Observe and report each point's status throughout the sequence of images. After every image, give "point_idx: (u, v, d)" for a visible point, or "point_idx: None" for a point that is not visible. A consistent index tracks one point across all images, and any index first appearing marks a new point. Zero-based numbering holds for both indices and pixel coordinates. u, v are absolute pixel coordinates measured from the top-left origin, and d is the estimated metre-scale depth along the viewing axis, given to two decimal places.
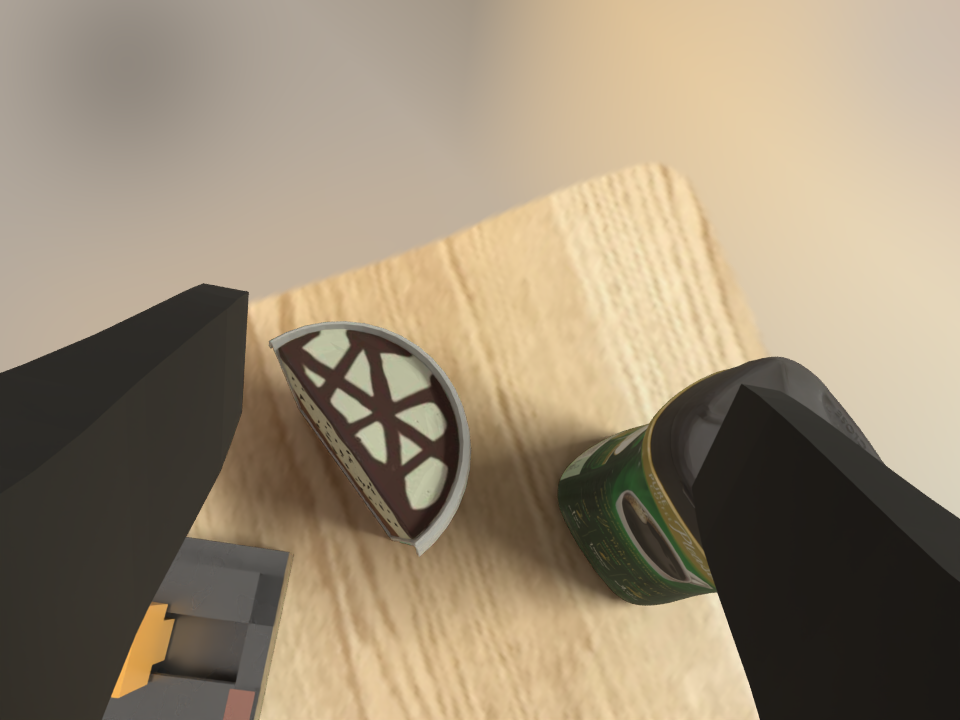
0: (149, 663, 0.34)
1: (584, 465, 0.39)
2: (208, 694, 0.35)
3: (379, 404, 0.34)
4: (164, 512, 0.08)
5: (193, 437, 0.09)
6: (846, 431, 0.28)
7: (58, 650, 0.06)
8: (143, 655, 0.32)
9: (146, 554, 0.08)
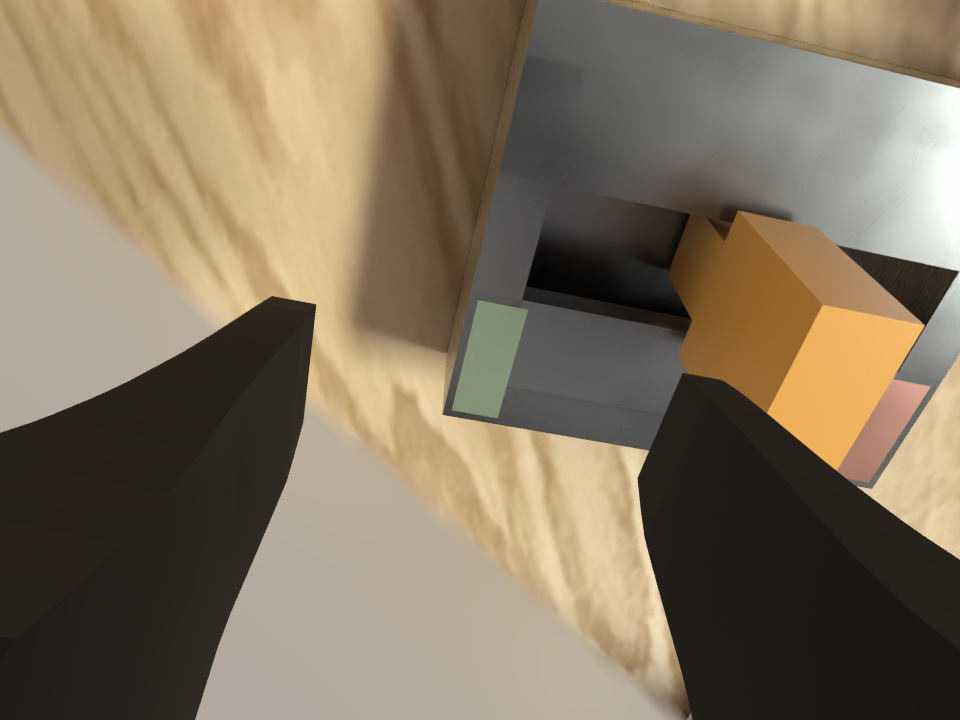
0: None
1: None
2: None
3: None
4: (245, 524, 0.08)
5: (270, 449, 0.09)
6: None
7: (170, 664, 0.06)
8: None
9: (231, 566, 0.08)
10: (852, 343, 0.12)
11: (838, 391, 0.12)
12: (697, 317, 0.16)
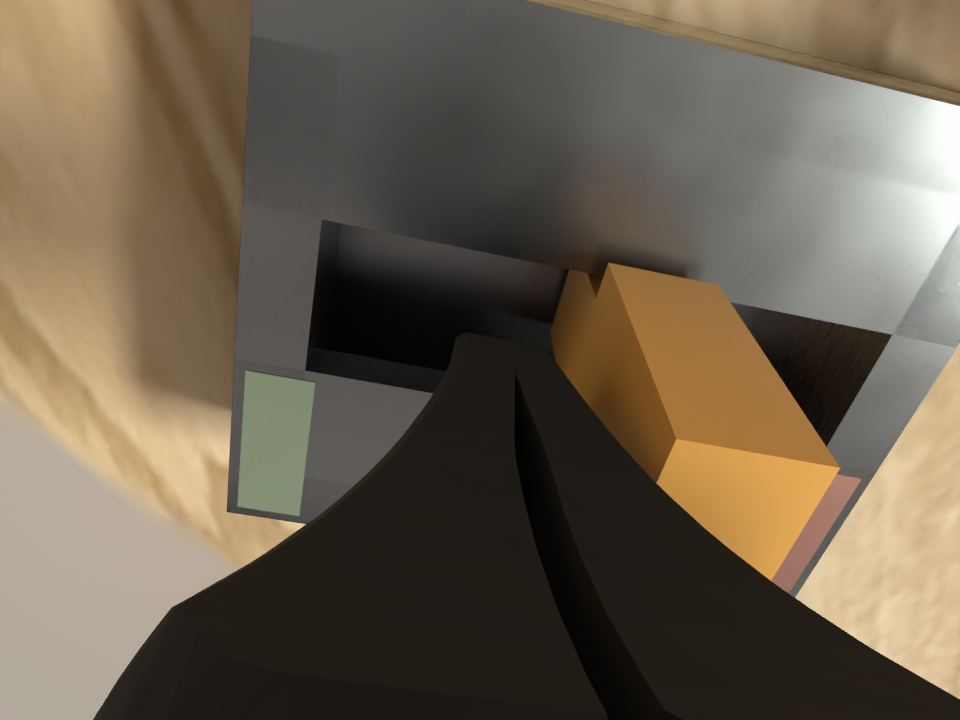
0: None
1: None
2: None
3: None
4: None
5: None
6: None
7: None
8: None
9: None
10: (728, 491, 0.08)
11: None
12: None
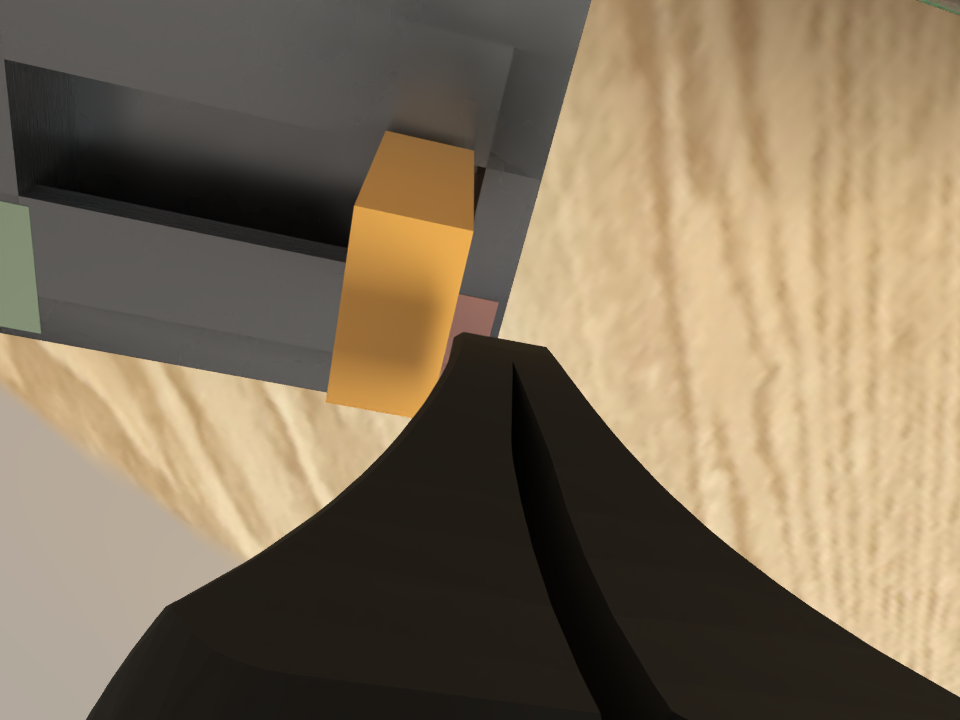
0: None
1: None
2: None
3: None
4: None
5: None
6: None
7: None
8: None
9: None
10: (401, 250, 0.11)
11: (405, 307, 0.12)
12: None
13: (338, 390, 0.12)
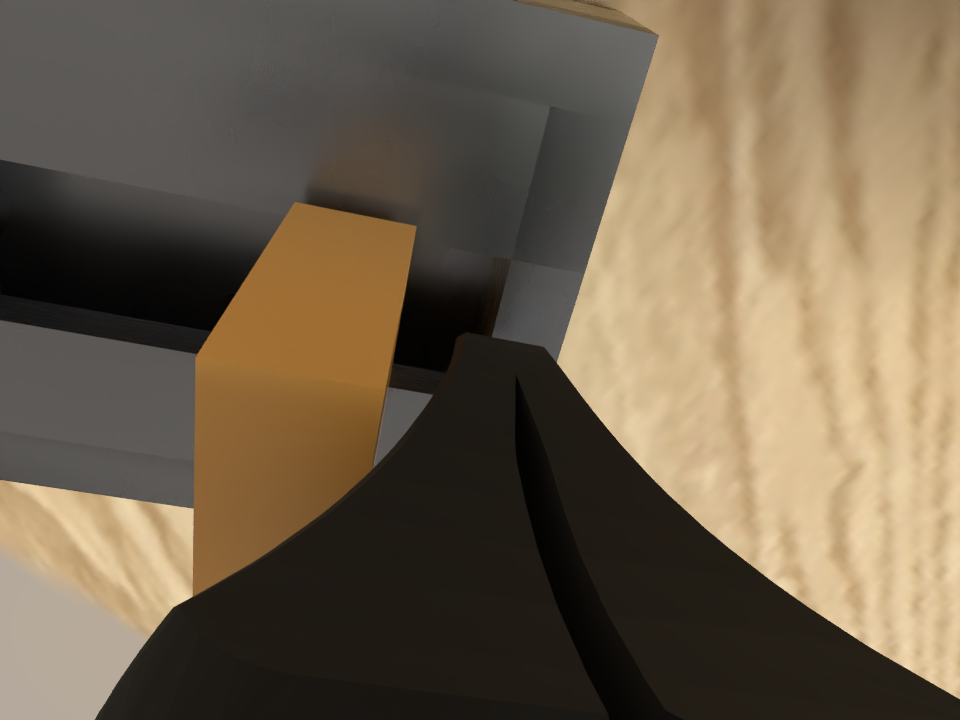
0: (387, 391, 0.12)
1: None
2: (407, 417, 0.13)
3: None
4: None
5: None
6: None
7: None
8: (381, 425, 0.10)
9: None
10: (277, 417, 0.07)
11: (292, 491, 0.08)
12: None
13: None
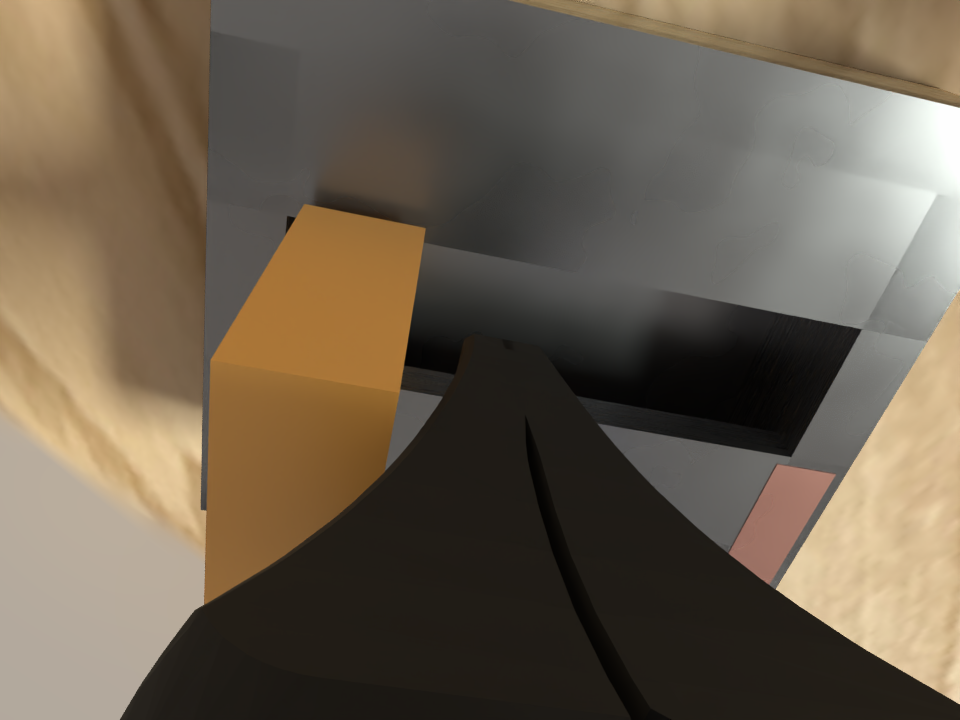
0: None
1: None
2: (723, 471, 0.14)
3: None
4: None
5: None
6: None
7: None
8: None
9: None
10: (290, 419, 0.07)
11: (304, 494, 0.08)
12: None
13: None
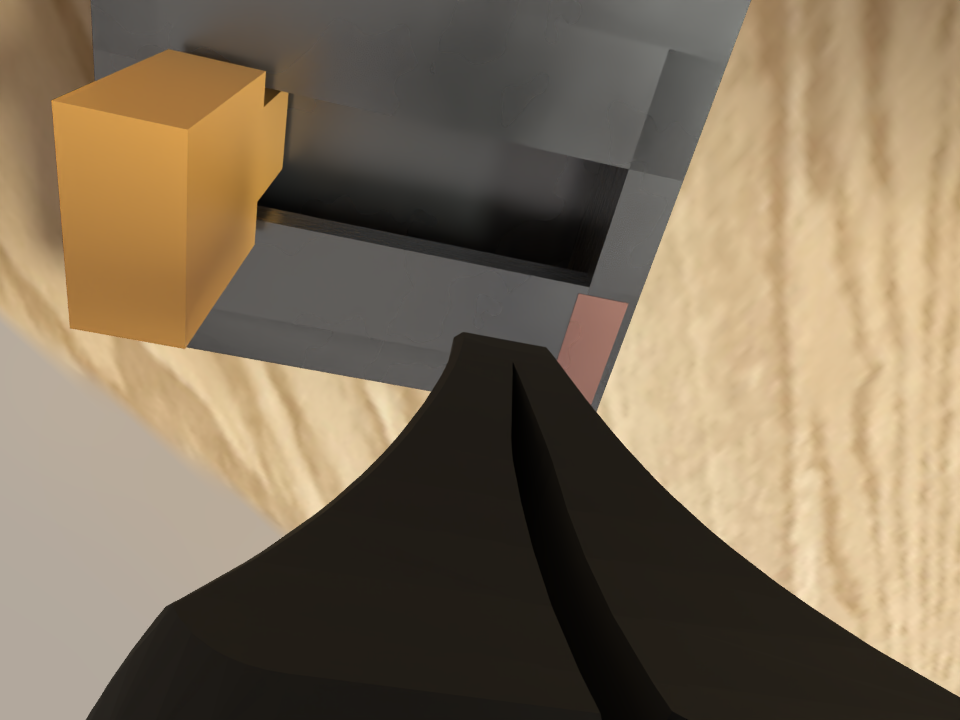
0: (249, 211, 0.15)
1: None
2: (535, 299, 0.17)
3: None
4: None
5: None
6: None
7: None
8: (229, 216, 0.13)
9: None
10: (114, 152, 0.10)
11: (132, 218, 0.11)
12: None
13: (81, 314, 0.12)
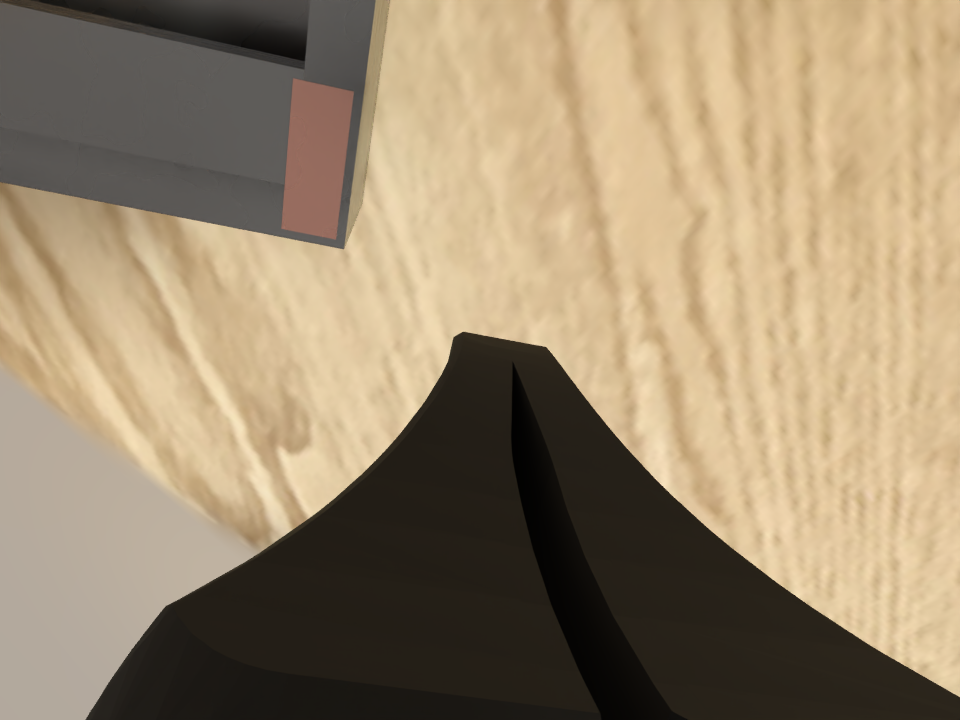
0: None
1: None
2: (244, 87, 0.14)
3: None
4: None
5: None
6: None
7: None
8: None
9: None
10: None
11: None
12: None
13: None
